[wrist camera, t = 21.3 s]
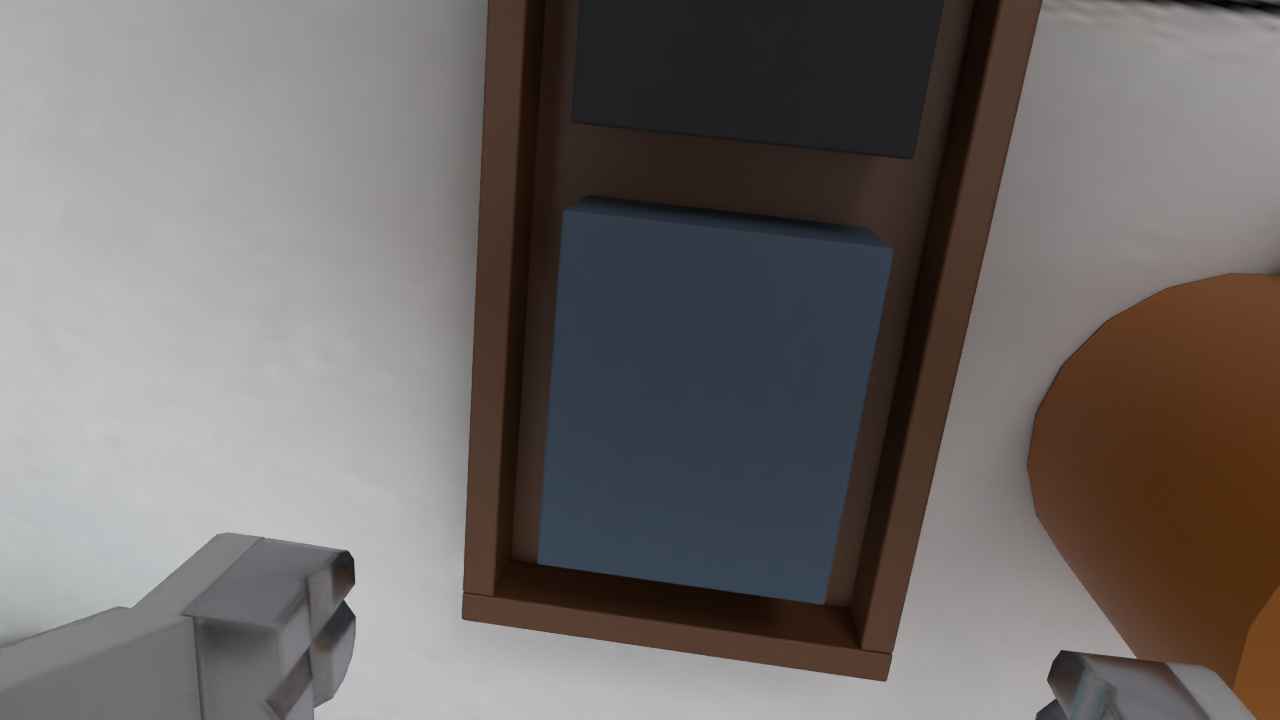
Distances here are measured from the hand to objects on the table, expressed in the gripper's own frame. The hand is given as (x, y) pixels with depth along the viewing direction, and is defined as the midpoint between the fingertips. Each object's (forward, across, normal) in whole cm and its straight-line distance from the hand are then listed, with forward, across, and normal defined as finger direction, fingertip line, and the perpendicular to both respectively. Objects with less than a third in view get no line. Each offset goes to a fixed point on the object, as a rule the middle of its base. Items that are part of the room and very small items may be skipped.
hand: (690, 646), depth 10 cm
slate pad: (+11, 0, 0) cm, 11 cm away
